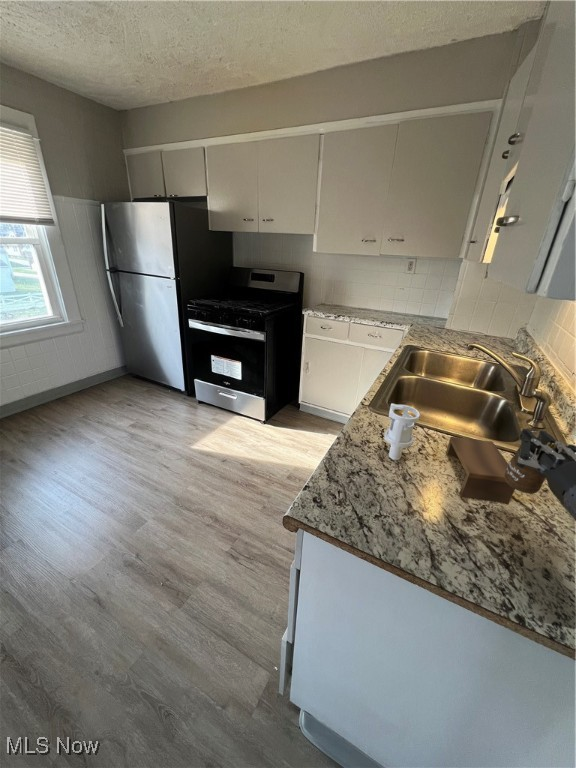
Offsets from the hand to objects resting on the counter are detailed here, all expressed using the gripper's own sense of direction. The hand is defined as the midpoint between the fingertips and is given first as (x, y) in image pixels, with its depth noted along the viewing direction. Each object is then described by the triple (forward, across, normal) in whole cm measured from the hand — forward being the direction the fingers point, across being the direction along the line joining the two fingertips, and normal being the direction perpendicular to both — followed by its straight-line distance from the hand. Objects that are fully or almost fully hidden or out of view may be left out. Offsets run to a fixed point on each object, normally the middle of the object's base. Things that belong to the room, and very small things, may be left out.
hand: (531, 433), depth 60 cm
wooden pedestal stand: (+9, +3, +19) cm, 21 cm away
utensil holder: (-3, 0, +10) cm, 11 cm away
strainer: (+14, +21, +19) cm, 31 cm away
